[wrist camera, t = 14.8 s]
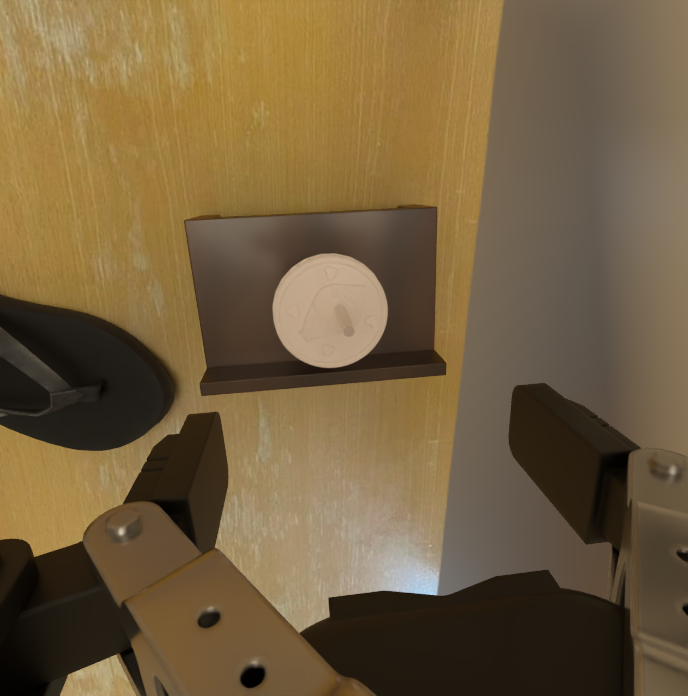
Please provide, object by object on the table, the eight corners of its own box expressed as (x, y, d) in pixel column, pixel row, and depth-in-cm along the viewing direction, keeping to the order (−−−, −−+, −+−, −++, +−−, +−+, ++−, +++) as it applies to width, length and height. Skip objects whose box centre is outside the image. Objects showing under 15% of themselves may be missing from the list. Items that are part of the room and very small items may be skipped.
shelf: (416, 204, 39) (451, 208, 30) (415, 338, 43) (446, 375, 34) (199, 215, 37) (173, 222, 29) (219, 353, 41) (201, 396, 32)
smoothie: (379, 286, 34) (435, 345, 21) (315, 339, 35) (330, 428, 22) (325, 218, 32) (350, 237, 19) (258, 276, 33) (237, 332, 20)
